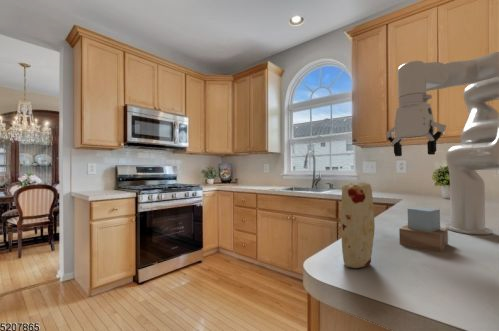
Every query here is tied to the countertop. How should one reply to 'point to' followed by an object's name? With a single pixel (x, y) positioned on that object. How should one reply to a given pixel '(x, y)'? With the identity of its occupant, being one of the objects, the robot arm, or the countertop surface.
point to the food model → (357, 224)
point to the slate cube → (424, 219)
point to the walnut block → (424, 238)
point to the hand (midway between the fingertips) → (414, 155)
